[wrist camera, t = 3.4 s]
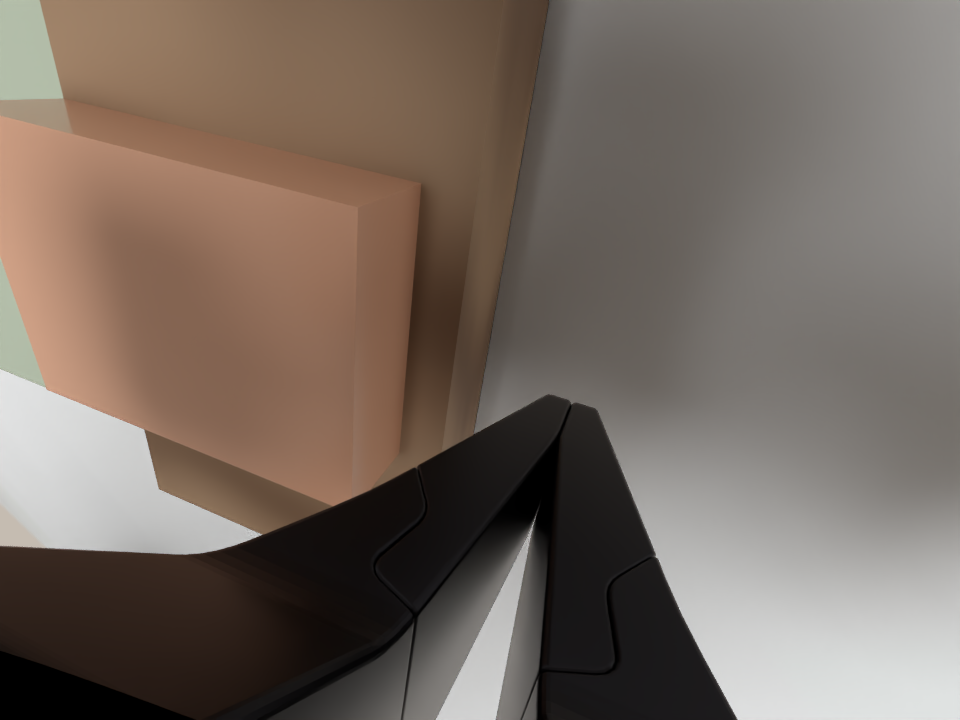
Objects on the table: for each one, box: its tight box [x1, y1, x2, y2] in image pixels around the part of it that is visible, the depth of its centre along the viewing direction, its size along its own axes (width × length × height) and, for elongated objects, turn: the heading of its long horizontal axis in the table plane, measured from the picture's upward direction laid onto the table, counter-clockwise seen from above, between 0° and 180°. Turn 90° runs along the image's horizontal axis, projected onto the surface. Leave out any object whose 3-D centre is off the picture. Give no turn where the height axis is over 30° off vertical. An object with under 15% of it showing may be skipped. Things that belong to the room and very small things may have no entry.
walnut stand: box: [40, 0, 549, 534], centre depth 12 cm, size 16×9×2 cm, turn 171°
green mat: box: [0, 0, 63, 387], centre depth 15 cm, size 16×10×1 cm, turn 171°
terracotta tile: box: [0, 98, 421, 506], centre depth 10 cm, size 6×8×2 cm
